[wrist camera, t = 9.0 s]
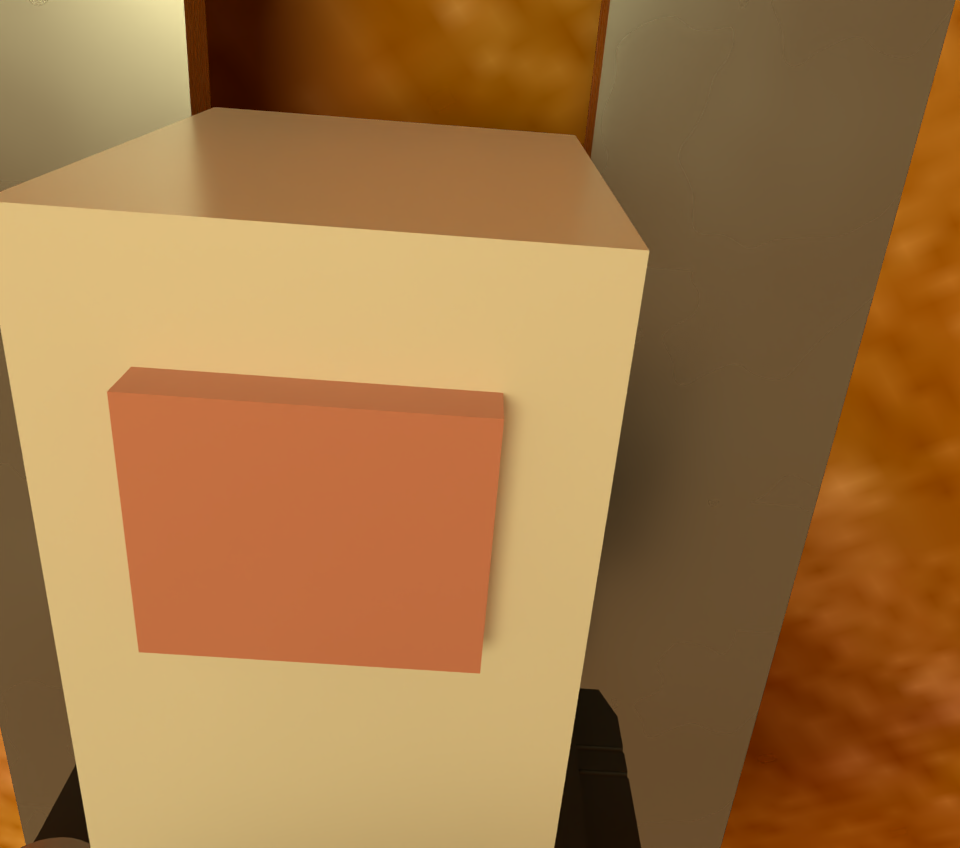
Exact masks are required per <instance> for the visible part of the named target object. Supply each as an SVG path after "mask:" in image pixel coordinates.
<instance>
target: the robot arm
mask: <svg viewBox="0 0 960 848" xmlns="http://www.w3.org/2000/svg"><path fill="white" fill-rule="evenodd" d="M627 773H628V771H627V766H626V760H625V755H624V753H623V744H622V738H621V733H620V727H619V722H618V717H617V715H616V714H615V712H614V711H613V709H612V708H611V707H610V705H609V704H608V702H607V701H606V699H605V698H604V696H603V695H602V694H601V692H600V691H599V689H583V688H580V689H579V695H578V701H577V708H576V714H575V720H574V726H573V733H572V739H571V745H570V752H569V758H568V764H567V770H566V777H565V783H564V789H563V795H562V802H561V808H560V814H559V820H558V827H557V833H556V839H555V845H554V848H641V843H640V838H639V832H638V827H637V821H636V816H635V810H634V805H633V799H632V793H631V788H630V782H629V778H628V777H627ZM21 848H91V847H90V841H89V836H88V830H87V824H86V818H85V813H84V807H83V801H82V795H81V790H80V784H79V778H78V772H77V767H76V765H75V767H74V769H73V770H72V772H71V774H70V776H69V778H68V780H67V782H66V783H65V785H64V787H63V789H62V791H61V793H60V795H59V796H58V798H57V800H56V802H55V804H54V806H53V808H52V809H51V811H50V813H49V815H48V817H47V819H46V821H45V822H44V824H43V826H42V828H41V830H40V832H39V834H38V835H37V837H36V839H35V840H34V842H33V843H30V844H28V845H25V846H23V847H21Z"/></svg>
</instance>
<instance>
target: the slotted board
mask: <svg viewBox="0 0 960 848" xmlns="http://www.w3.org/2000/svg"><path fill="white" fill-rule="evenodd" d="M954 4H955V0H602V1H601V10H600V18H599V26H598V35H597V43H596V51H595V60H594V68H593V76H592V85H591V93H590V101H589V110H588V118H587V126H586V135H585V143H584V150H585V151H586V153H587V154H588V156H589V157H590V159H591V160H592V162H593V164H594V165H595V167H596V168H597V170H598V171H599V173H600V174H601V176H602V178H603V179H604V181H605V182H606V184H607V185H608V187H609V188H610V190H611V192H612V193H613V195H614V196H615V198H616V199H617V201H618V202H619V204H620V206H621V207H622V209H623V210H624V212H625V213H626V215H627V216H628V218H629V220H630V221H631V223H632V224H633V226H634V227H635V229H636V230H637V232H638V234H639V235H640V237H641V238H642V240H643V241H644V243H645V244H646V246H647V248H648V249H649V257H648V263H647V269H646V276H645V282H644V288H643V294H642V301H641V307H640V313H639V319H638V326H637V332H636V338H635V344H634V351H633V357H632V363H631V369H630V376H629V382H628V388H627V395H626V401H625V407H624V413H623V420H622V426H621V432H620V438H619V445H618V451H617V457H616V463H615V470H614V476H613V482H612V488H611V495H610V501H609V507H608V514H607V520H606V526H605V532H604V539H603V545H602V551H601V557H600V564H599V570H598V576H597V582H596V589H595V595H594V601H593V607H592V614H591V620H590V626H589V633H588V639H587V645H586V651H585V658H584V664H583V670H582V676H581V683H580V688H583V689H599V691H600V692H601V694H602V695H603V696H604V698H605V699H606V701H607V702H608V704H609V705H610V707H611V708H612V709H613V711H614V712H615V714H616V715H617V717H618V722H619V727H620V733H621V738H622V744H623V753H624V755H625V760H626V766H627V771H628V773H627V777H628V778H629V782H630V788H631V793H632V799H633V805H634V810H635V816H636V821H637V827H638V832H639V838H640V843H641V848H720V847H721V844H722V840H723V836H724V833H725V829H726V826H727V822H728V818H729V815H730V811H731V807H732V804H733V800H734V797H735V793H736V789H737V786H738V782H739V779H740V775H741V771H742V768H743V764H744V761H745V757H746V753H747V750H748V746H749V743H750V739H751V735H752V732H753V728H754V725H755V721H756V717H757V714H758V710H759V707H760V703H761V699H762V696H763V692H764V689H765V685H766V681H767V678H768V674H769V670H770V667H771V663H772V660H773V656H774V652H775V649H776V645H777V642H778V638H779V634H780V631H781V627H782V624H783V620H784V616H785V613H786V609H787V606H788V602H789V598H790V595H791V591H792V588H793V584H794V580H795V577H796V573H797V570H798V566H799V562H800V559H801V555H802V552H803V548H804V544H805V541H806V537H807V533H808V530H809V526H810V523H811V519H812V515H813V512H814V508H815V505H816V501H817V497H818V494H819V490H820V487H821V483H822V479H823V476H824V472H825V469H826V465H827V461H828V458H829V454H830V451H831V447H832V443H833V440H834V436H835V433H836V429H837V425H838V422H839V418H840V415H841V411H842V407H843V404H844V400H845V396H846V393H847V389H848V386H849V382H850V378H851V375H852V371H853V368H854V364H855V360H856V357H857V353H858V350H859V346H860V342H861V339H862V335H863V332H864V328H865V324H866V321H867V317H868V314H869V310H870V306H871V303H872V299H873V296H874V292H875V288H876V285H877V281H878V278H879V274H880V270H881V267H882V263H883V260H884V256H885V252H886V249H887V245H888V241H889V238H890V234H891V231H892V227H893V223H894V220H895V216H896V213H897V209H898V205H899V202H900V198H901V195H902V191H903V187H904V184H905V180H906V177H907V173H908V169H909V166H910V162H911V159H912V155H913V151H914V148H915V144H916V141H917V137H918V133H919V130H920V126H921V123H922V119H923V115H924V112H925V108H926V104H927V101H928V97H929V94H930V90H931V86H932V83H933V79H934V76H935V72H936V68H937V65H938V61H939V58H940V54H941V50H942V47H943V43H944V40H945V36H946V32H947V29H948V25H949V22H950V18H951V14H952V11H953V7H954ZM209 109H211V97H210V80H209V62H208V44H207V26H206V9H205V0H0V192H1V191H3V190H6V189H8V188H11V187H13V186H16V185H19V184H21V183H24V182H26V181H29V180H31V179H34V178H36V177H39V176H41V175H44V174H46V173H49V172H51V171H54V170H57V169H59V168H62V167H64V166H67V165H69V164H72V163H74V162H77V161H79V160H82V159H84V158H87V157H89V156H92V155H95V154H97V153H100V152H102V151H105V150H107V149H110V148H112V147H115V146H117V145H120V144H122V143H125V142H127V141H130V140H133V139H135V138H138V137H140V136H143V135H145V134H148V133H150V132H153V131H155V130H158V129H160V128H163V127H165V126H168V125H171V124H173V123H176V122H178V121H181V120H183V119H186V118H188V117H191V116H193V115H196V114H198V113H201V112H203V111H206V110H209ZM0 728H1V732H2V737H3V741H4V746H5V751H6V755H7V760H8V764H9V769H10V774H11V778H12V783H13V787H14V792H15V797H16V801H17V806H18V810H19V815H20V820H21V824H22V829H23V833H24V838H25V843H26V845H28V844H30V843H33V842H34V840H35V839H36V837H37V835H38V834H39V832H40V830H41V828H42V826H43V824H44V822H45V821H46V819H47V817H48V815H49V813H50V811H51V809H52V808H53V806H54V804H55V802H56V800H57V798H58V796H59V795H60V793H61V791H62V789H63V787H64V785H65V783H66V782H67V780H68V778H69V776H70V774H71V772H72V770H73V769H74V767H75V765H76V761H75V755H74V749H73V743H72V738H71V732H70V726H69V720H68V715H67V709H66V703H65V697H64V692H63V686H62V680H61V674H60V669H59V663H58V657H57V651H56V646H55V640H54V634H53V628H52V623H51V617H50V611H49V605H48V599H47V594H46V588H45V582H44V576H43V571H42V565H41V559H40V553H39V548H38V542H37V536H36V530H35V525H34V519H33V513H32V507H31V502H30V496H29V490H28V484H27V479H26V473H25V467H24V461H23V456H22V450H21V444H20V438H19V432H18V427H17V421H16V415H15V409H14V404H13V398H12V392H11V386H10V381H9V375H8V369H7V363H6V358H5V352H4V346H3V340H2V335H1V329H0Z"/></svg>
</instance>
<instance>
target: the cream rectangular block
mask: <svg viewBox="0 0 960 848" xmlns="http://www.w3.org/2000/svg"><path fill="white" fill-rule="evenodd" d="M648 257H649V249H648V248H647V246H646V244H645V243H644V241H643V240H642V238H641V237H640V235H639V234H638V232H637V230H636V229H635V227H634V226H633V224H632V223H631V221H630V220H629V218H628V216H627V215H626V213H625V212H624V210H623V209H622V207H621V206H620V204H619V202H618V201H617V199H616V198H615V196H614V195H613V193H612V192H611V190H610V188H609V187H608V185H607V184H606V182H605V181H604V179H603V178H602V176H601V174H600V173H599V171H598V170H597V168H596V167H595V165H594V164H593V162H592V160H591V159H590V157H589V156H588V154H587V153H586V151H585V150H584V148H583V146H582V145H581V143H580V142H579V140H578V139H577V137H576V136H575V135H567V134H555V133H542V132H529V131H516V130H503V129H490V128H477V127H465V126H452V125H439V124H426V123H413V122H400V121H388V120H375V119H362V118H349V117H336V116H323V115H311V114H298V113H285V112H272V111H259V110H246V109H234V108H221V107H214V108H211V109H209V110H206V111H203V112H201V113H198V114H196V115H193V116H191V117H188V118H186V119H183V120H181V121H178V122H176V123H173V124H171V125H168V126H165V127H163V128H160V129H158V130H155V131H153V132H150V133H148V134H145V135H143V136H140V137H138V138H135V139H133V140H130V141H127V142H125V143H122V144H120V145H117V146H115V147H112V148H110V149H107V150H105V151H102V152H100V153H97V154H95V155H92V156H89V157H87V158H84V159H82V160H79V161H77V162H74V163H72V164H69V165H67V166H64V167H62V168H59V169H57V170H54V171H51V172H49V173H46V174H44V175H41V176H39V177H36V178H34V179H31V180H29V181H26V182H24V183H21V184H19V185H16V186H13V187H11V188H8V189H6V190H3V191H1V192H0V329H1V335H2V340H3V346H4V352H5V358H6V363H7V369H8V375H9V381H10V386H11V392H12V398H13V404H14V409H15V415H16V421H17V427H18V432H19V438H20V444H21V450H22V456H23V461H24V467H25V473H26V479H27V484H28V490H29V496H30V502H31V507H32V513H33V519H34V525H35V530H36V536H37V542H38V548H39V553H40V559H41V565H42V571H43V576H44V582H45V588H46V594H47V599H48V605H49V611H50V617H51V623H52V628H53V634H54V640H55V646H56V651H57V657H58V663H59V669H60V674H61V680H62V686H63V692H64V697H65V703H66V709H67V715H68V720H69V726H70V732H71V738H72V743H73V749H74V755H75V761H76V767H77V772H78V778H79V784H80V790H81V795H82V801H83V807H84V813H85V818H86V824H87V830H88V836H89V841H90V847H91V848H554V845H555V839H556V833H557V827H558V820H559V814H560V808H561V802H562V795H563V789H564V783H565V777H566V770H567V764H568V758H569V752H570V745H571V739H572V733H573V726H574V720H575V714H576V708H577V701H578V695H579V689H580V683H581V676H582V670H583V664H584V658H585V651H586V645H587V639H588V633H589V626H590V620H591V614H592V607H593V601H594V595H595V589H596V582H597V576H598V570H599V564H600V557H601V551H602V545H603V539H604V532H605V526H606V520H607V514H608V507H609V501H610V495H611V488H612V482H613V476H614V470H615V463H616V457H617V451H618V445H619V438H620V432H621V426H622V420H623V413H624V407H625V401H626V395H627V388H628V382H629V376H630V369H631V363H632V357H633V351H634V344H635V338H636V332H637V326H638V319H639V313H640V307H641V301H642V294H643V288H644V282H645V276H646V269H647V263H648Z"/></svg>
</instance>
